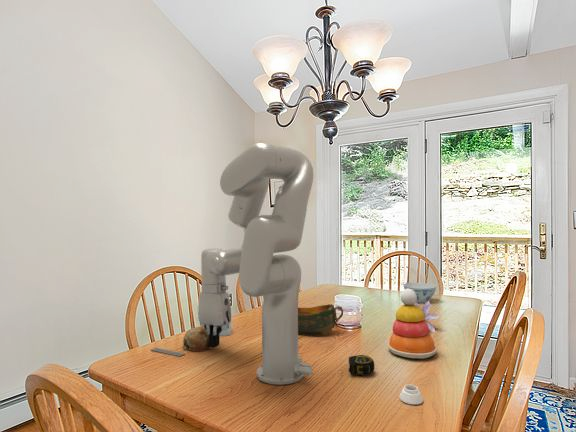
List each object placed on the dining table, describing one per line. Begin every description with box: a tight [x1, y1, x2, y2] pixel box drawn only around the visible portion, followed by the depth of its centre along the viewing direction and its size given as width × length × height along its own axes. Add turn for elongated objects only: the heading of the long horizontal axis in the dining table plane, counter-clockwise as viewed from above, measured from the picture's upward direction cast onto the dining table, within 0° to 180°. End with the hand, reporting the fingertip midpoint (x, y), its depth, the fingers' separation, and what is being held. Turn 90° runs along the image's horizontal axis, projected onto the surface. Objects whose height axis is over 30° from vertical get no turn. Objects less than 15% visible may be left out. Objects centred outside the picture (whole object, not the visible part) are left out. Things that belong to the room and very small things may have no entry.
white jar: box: [398, 384, 424, 406], centre depth 82 cm, size 5×3×5 cm
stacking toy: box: [387, 289, 438, 360], centre depth 111 cm, size 14×14×20 cm
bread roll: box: [182, 325, 212, 352], centre depth 118 cm, size 10×10×8 cm
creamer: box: [298, 303, 344, 337], centre depth 131 cm, size 13×20×10 cm, turn 50°
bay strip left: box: [150, 347, 185, 358], centre depth 113 cm, size 12×2×1 cm, turn 63°
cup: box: [220, 312, 233, 337], centre depth 131 cm, size 6×6×7 cm
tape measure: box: [347, 354, 375, 376], centre depth 97 cm, size 7×7×4 cm
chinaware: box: [403, 282, 437, 304], centre depth 178 cm, size 15×15×8 cm
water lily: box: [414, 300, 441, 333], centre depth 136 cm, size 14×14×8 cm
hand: (214, 346), depth 115 cm, fingers closed
